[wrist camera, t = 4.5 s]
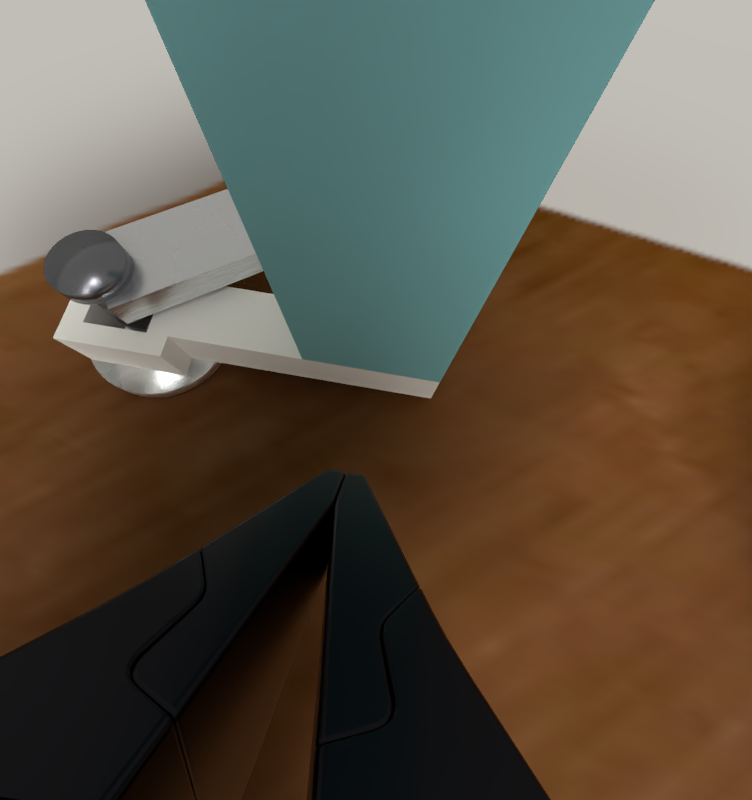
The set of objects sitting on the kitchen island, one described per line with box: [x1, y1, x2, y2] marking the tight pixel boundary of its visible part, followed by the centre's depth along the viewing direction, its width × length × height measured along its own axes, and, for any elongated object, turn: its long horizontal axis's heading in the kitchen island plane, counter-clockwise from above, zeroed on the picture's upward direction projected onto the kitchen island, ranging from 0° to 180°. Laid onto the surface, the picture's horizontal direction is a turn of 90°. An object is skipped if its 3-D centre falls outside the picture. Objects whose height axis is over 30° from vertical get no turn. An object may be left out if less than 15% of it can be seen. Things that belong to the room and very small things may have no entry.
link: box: [53, 0, 655, 399], centre depth 10 cm, size 14×4×13 cm, turn 80°
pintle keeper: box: [44, 189, 263, 398], centre depth 15 cm, size 9×6×5 cm, turn 116°
